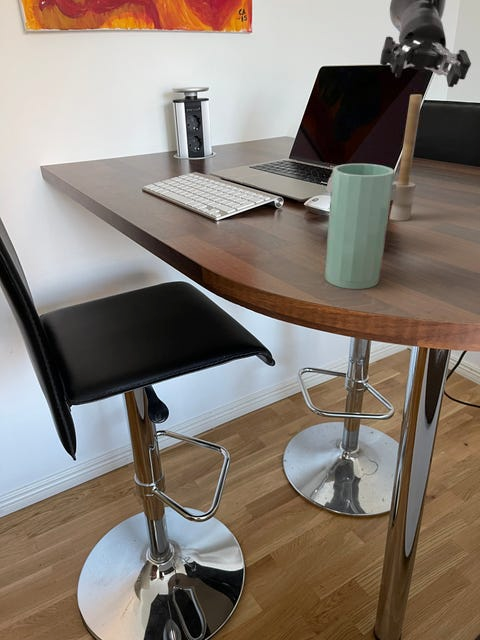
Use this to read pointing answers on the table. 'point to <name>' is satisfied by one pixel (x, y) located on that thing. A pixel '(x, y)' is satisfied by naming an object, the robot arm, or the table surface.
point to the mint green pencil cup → (357, 224)
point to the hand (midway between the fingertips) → (426, 76)
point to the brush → (407, 164)
